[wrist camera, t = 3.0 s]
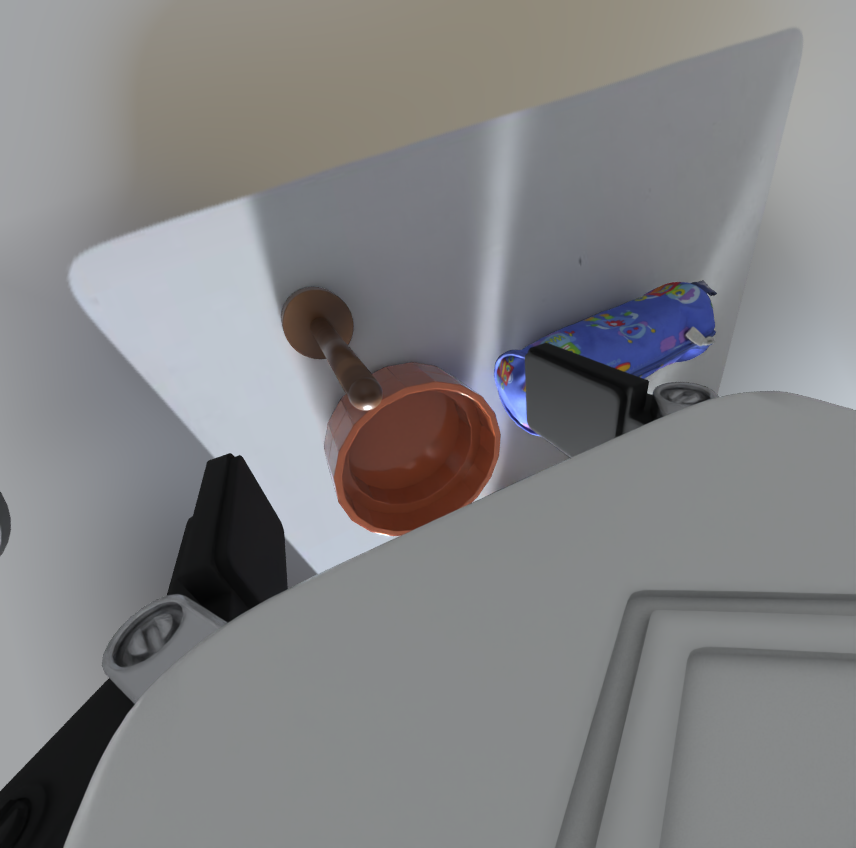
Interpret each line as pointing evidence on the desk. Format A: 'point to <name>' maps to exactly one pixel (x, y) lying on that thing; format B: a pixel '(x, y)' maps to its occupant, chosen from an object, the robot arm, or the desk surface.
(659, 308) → the pencil case
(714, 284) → the desk surface
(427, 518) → the mixing bowl
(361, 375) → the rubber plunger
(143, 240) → the desk surface
